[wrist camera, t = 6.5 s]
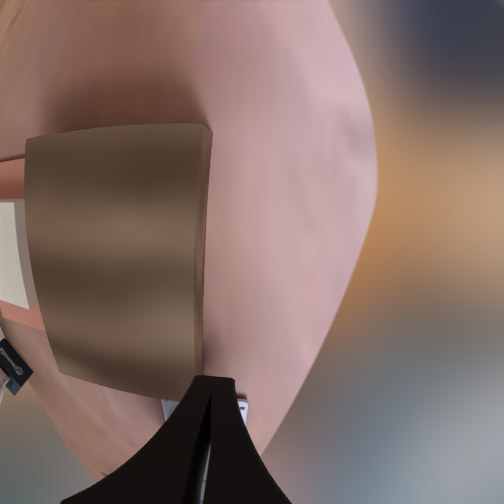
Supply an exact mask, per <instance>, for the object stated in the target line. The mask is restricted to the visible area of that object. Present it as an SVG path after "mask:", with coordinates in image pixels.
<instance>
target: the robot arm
mask: <svg viewBox="0 0 504 504" xmlns="http://www.w3.org/2000/svg"><path fill="white" fill-rule="evenodd" d="M161 402H162V408H163V413H164V418H165V423H164V424H163V425H162V426H161V428H160V429H159V430H158V431H157V432H156V434H155V435H154V436H153V437H152V438H151V439H150V440H149V441H148V442H147V443H146V444H145V445H144V446H143V447H142V448H141V449H140V450H139V451H138V452H137V453H136V454H135V455H134V456H132V457H131V458H130V459H129V460H128V461H127V462H125V463H124V464H123V465H122V466H121V467H119V468H118V469H117V470H115V471H114V472H112V473H111V474H109V475H108V476H106V477H105V478H103V479H102V480H100V481H99V482H97V483H96V484H94V485H92V486H91V487H89V488H87V489H85V490H83V491H81V492H79V493H77V494H75V495H73V496H71V497H69V498H66V499H64V500H62V502H61V503H60V504H292V503H291V502H290V501H289V499H288V498H287V497H286V495H285V494H284V493H283V492H282V490H281V489H280V488H279V486H278V485H277V484H276V482H275V481H274V479H273V478H272V476H271V475H270V473H269V472H268V470H267V469H266V467H265V465H264V463H263V462H262V460H261V458H260V456H259V454H258V453H257V451H256V449H255V447H254V444H253V442H252V440H251V438H250V436H249V433H248V431H247V428H246V426H245V425H246V417H247V410H248V401H247V400H245V399H237V396H236V391H235V380H234V379H233V378H226V377H215V376H205V375H196V376H194V378H193V380H192V382H191V384H190V386H189V388H188V390H187V391H186V393H185V395H184V396H183V398H182V399H181V401H180V402H177V401H170V400H164V399H161Z"/></svg>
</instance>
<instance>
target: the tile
mask: <svg viewBox="0 0 504 504" xmlns="http://www.w3.org/2000/svg"><path fill="white" fill-rule="evenodd" d="M0 300H2V301H5V302H8V303H11V304H14V305H17V306H20V307H23V308H26V309H29V310H30V309H31V308H32V307H34V306H35V305H36V304H37V303H38V299H37V295H36V290H35V286H34V280H33V275H32V269H31V263H30V257H29V249H28V241H27V232H26V220H25V201H24V198H23V199H0Z"/></svg>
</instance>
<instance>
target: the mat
mask: <svg viewBox="0 0 504 504" xmlns="http://www.w3.org/2000/svg"><path fill="white" fill-rule="evenodd" d="M24 166H25V158H22V159H16V160H11V161H5V162H0V199H23V198H24ZM0 309H1V312H2V315H3V317H5V318H7V319H10V320H12V321H15V322H18V323H21V324H23V325H26V326H29V327H32V328H35V329H38V330H41V331H44V332H46V330H45V327H44V323H43V319H42V316H41V312H40V308H39V304H38V303H37V304H36V305H35V306H34V307H32V308H31V309H30V310H29V309H26V308H23V307H20V306H17V305H14V304H11V303H8V302H5V301H2V300H0Z"/></svg>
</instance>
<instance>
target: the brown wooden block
mask: <svg viewBox="0 0 504 504" xmlns="http://www.w3.org/2000/svg"><path fill="white" fill-rule="evenodd" d="M212 135H213V133H212V132H211V131H210V130H209V129H208V128H207V127H206V126H204V125H203V124H202V123H158V124H135V125H120V126H108V127H98V128H89V129H82V130H74V131H67V132H61V133H55V134H50V135H44V136H39V137H34V138H29V139H26V147H25V166H24V201H25V220H26V232H27V241H28V249H29V257H30V263H31V269H32V275H33V280H34V286H35V290H36V295H37V299H38V304H39V308H40V312H41V316H42V319H43V323H44V327H45V330H46V333H47V337H48V340H49V343H50V346H51V349H52V352H53V355H54V358H55V360H56V363H57V366H58V369H59V371H60V373H63V374H66V375H69V376H72V377H75V378H78V379H81V380H85V381H88V382H91V383H95V384H98V385H102V386H105V387H109V388H113V389H117V390H121V391H125V392H129V393H134V394H138V395H143V396H148V397H153V398H159V399H164V400H170V401H177V402H180V401H181V399H182V398H183V396H184V395H185V393H186V391H187V390H188V388H189V386H190V384H191V382H192V380H193V378H194V376H196V375H202V374H203V295H204V259H205V235H206V216H207V199H208V184H209V170H210V158H211V146H212Z"/></svg>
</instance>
